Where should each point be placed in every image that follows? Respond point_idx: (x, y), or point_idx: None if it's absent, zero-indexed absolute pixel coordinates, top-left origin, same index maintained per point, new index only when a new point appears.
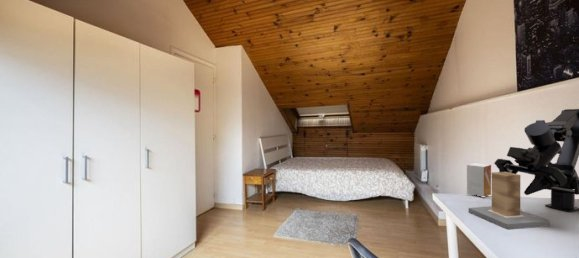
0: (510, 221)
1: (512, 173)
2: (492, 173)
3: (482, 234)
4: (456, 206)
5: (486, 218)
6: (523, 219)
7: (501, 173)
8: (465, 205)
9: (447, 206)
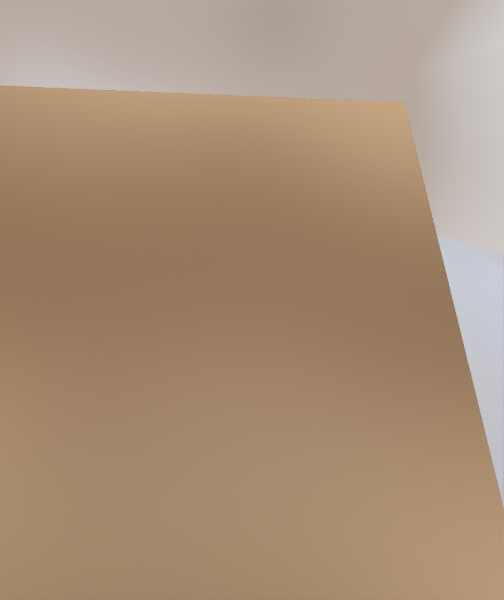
0: None
1: (144, 583)
2: (370, 118)
3: None
4: (465, 295)
5: None
6: None
7: (242, 204)
8: (493, 372)
9: (462, 242)
